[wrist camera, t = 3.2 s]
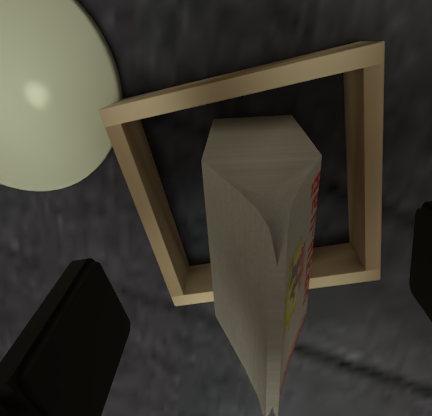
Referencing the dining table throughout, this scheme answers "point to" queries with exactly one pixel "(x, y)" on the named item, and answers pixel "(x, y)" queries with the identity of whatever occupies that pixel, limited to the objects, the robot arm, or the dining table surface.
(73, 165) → the coaster
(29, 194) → the dining table surface
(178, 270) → the holder
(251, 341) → the gable top carton
